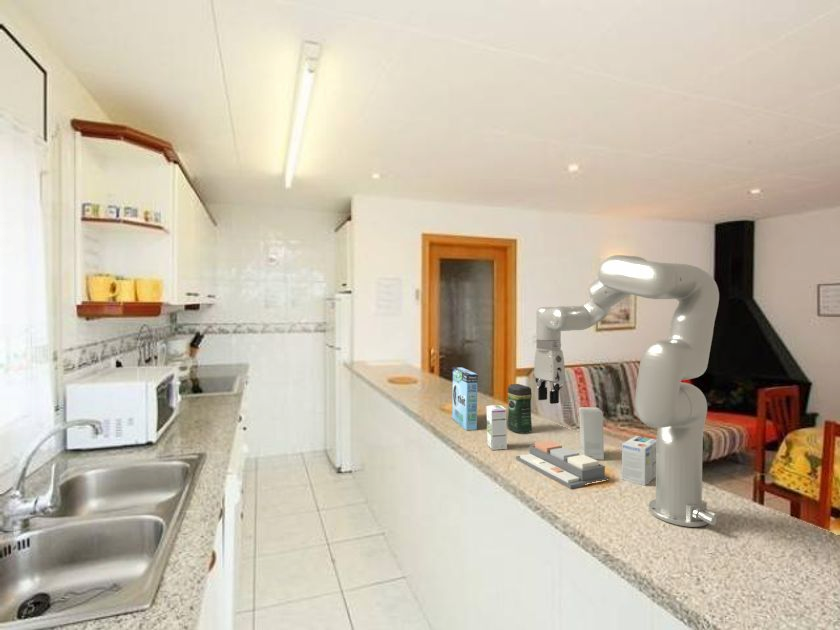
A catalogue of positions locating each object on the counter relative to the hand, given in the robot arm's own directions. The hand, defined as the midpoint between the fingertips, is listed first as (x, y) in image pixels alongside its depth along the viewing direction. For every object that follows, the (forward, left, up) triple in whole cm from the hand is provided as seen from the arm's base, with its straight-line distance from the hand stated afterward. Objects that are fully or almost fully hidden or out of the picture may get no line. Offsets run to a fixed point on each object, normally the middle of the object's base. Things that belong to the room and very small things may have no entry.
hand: (548, 400), depth 142 cm
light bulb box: (-22, -15, -20) cm, 33 cm away
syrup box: (+18, +8, -20) cm, 28 cm away
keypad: (-8, +2, -19) cm, 21 cm away
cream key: (-15, 0, -17) cm, 23 cm away
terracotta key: (0, 0, -17) cm, 17 cm away
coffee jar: (+32, -12, -20) cm, 39 cm away
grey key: (-8, 0, -17) cm, 18 cm away
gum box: (+49, +4, -20) cm, 53 cm away
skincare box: (-2, -16, -20) cm, 25 cm away
